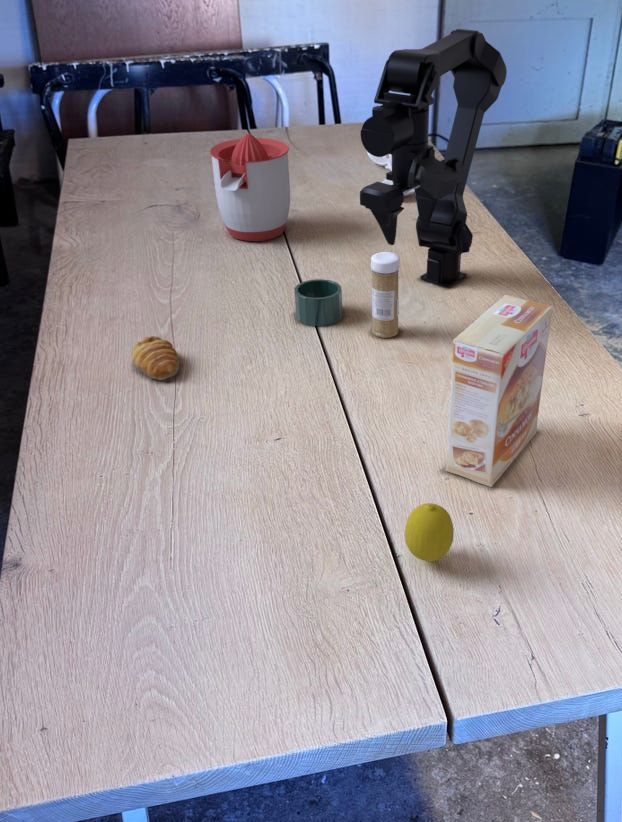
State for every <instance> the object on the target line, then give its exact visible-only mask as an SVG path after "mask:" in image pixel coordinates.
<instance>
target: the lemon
mask: <svg viewBox="0 0 622 822" xmlns="http://www.w3.org/2000/svg"><path fill="white" fill-rule="evenodd" d="M451 517H452V516H451V515H450V514H449V512H448V511H447V509H445V508H444V507H443V506H441V505H439V504H437V503H432V502H431V503H430V502H427V503H423V504H420V505H418V506H417V507H415V508H413V510H412V511H411V512H410V513H409V515H408V518H407V520H406V523H405V527H404V539H405V544H406V547H407V549H408V550H409V552H410V553H411V555H413V556H414V557H415V558H417V559H419V560H421V561H423V562H434V561H435V562H436V561H438V560H440V559H442V558H443V557H445V555H447V554H448V552H449V551H450V550H451V547H452V544H453V541H454V536H455V535H454V534H455V533H454V523H453V521H452V518H451Z"/></svg>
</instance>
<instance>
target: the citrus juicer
mask: <svg viewBox="0 0 622 822" xmlns="http://www.w3.org/2000/svg"><path fill="white" fill-rule="evenodd" d="M289 151H290V147H289V146H288V144H286V143H285V142H283V141H282V140H281V141H280V140H278V139H272V138H266V137H265V138H262V137H255V136H254V135H253V134H251V132H247V133H245V134H244V135H243V136H242V137H241V138H237V139H231V140H226V141H222V142H220V143H217V144H215V145H213V146H212V147H211V148H210V150H209V155H210V156H211V163H212V164H211V165H212V171H213V180H214V187H215V188H214V189H215V196H216V202H217V206H218V210H219V214H220V216H221V218H222V221H223V225H224V226H225V229H226V230H227V232H228V234H229V235H230V236H231V237H232V238H234V239H237V240H241V241H248V242H249V241H250V242H251V241H252V242H257V241H259V242H266V241H268V240H271V239H274V238H276V237H279V236H280V235H282V234H283V233H284V231H285V229H286V227H287V223H288V218H289V212H290V208H291V207H290V206H291V184H290V183H291V182H290V169H289Z"/></svg>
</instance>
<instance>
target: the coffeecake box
mask: <svg viewBox="0 0 622 822" xmlns="http://www.w3.org/2000/svg"><path fill="white" fill-rule="evenodd" d="M553 309H554V307H553V306H552V305H549V304H545V303H542V302H537V301H534V300H529V299H523V298H521V297H516V296H513V295H508V294H504V295H503V296H502V297H501V298H500V299H499V300H498V301H496V302H495V303H494V304H493V305H491V306H490V307H489V308H488V309H487V310H486V311H485V312H484V313H483V314H481V315H480V316H479V317H478V318H477V319H475V320H474V322H472V323H471V324H470V325H469V326H468V327H466V328H465V329H464V330H463V331H461V333H459V335H457V336H456V337H454V339H453V340H452V343H453V346H452V347H453V349H452V363H451V381H450V397H449V414H448V429H447V430H448V431H447V447H446V448H447V449H446V463H445V465H446V466H445V471H446V472H448V473H451V474H454V475H457V476H460V477H463V478H466V479H468V480H471V481H473V482H475V483H478V484H481V485H484V486H487V487H490V488H492V487H493V486H494V485H495V484H496V482H497V481H498V480H499V479H500V478H501V476H502V475H503V474H504V473H505V471H506V470H507V469H508V468H509V467H510V466H511V464H512V463H513V462H514V461H515V459H516V458H517V457H518V456H519V454H520V453H521V452H522V451H523V449H524V448H525V447H526V446H527V444H528V443H529V442H530V441H531V440H532V438H533V437H534V436H535V435H536V433H537V428H538V427H537V426H538V419H539V410H540V404H541V403H540V402H541V396H542V387H543V379H544V372H545V366H546V359H547V350H548V344H549V336H550V328H551V321H552V320H551V319H552V313H553Z"/></svg>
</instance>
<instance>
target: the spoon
mask: <svg viewBox="0 0 622 822" xmlns="http://www.w3.org/2000/svg"><path fill="white" fill-rule="evenodd" d="M366 153H367V156H368V158H370V159H371V161H372V162H373V163H375V164H376V165H378V166H381V167H384V168H385V169H386V170H389V171H392V155H391V154H387V155H385V156H383V157H376V156H373V155H371V154H370V153H369V152H368V151H367V150H366ZM388 156H389V157H388ZM381 183H385V184H389V185H393V181H390V180H386V178H385V179H384V180H383V181H382V182H381ZM413 194H415V190H414V189H413V190H411V191H409V192H407V193H404V197H405V196H410V195H413Z"/></svg>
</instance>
